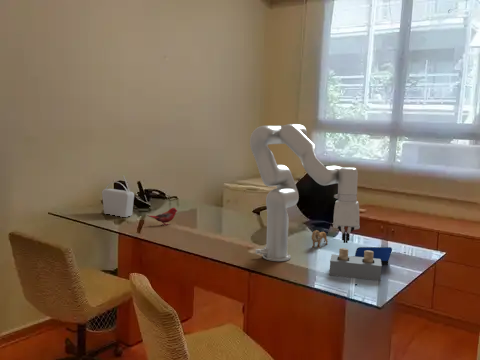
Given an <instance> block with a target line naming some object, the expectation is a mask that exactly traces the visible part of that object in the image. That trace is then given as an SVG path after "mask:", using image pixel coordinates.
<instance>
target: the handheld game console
mask: <svg viewBox="0 0 480 360" xmlns="http://www.w3.org/2000/svg"><path fill="white" fill-rule="evenodd" d="M366 250H369V251H373V252H374V253H373V258H376V259H381V265H382V266H386V265H387V266H388V265H389V261H390V257H391V255H392V251H393V248H392V247H391V246H390V247H389V246H387V247H386V246H382V247H381V246H374V247H373V246H359V247H357V248H356V250H355V254H354V256H355V257H364V251H366Z"/></svg>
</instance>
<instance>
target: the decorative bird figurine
mask: <svg viewBox="0 0 480 360" xmlns="http://www.w3.org/2000/svg"><path fill="white" fill-rule="evenodd" d="M177 212H178V210H177V208H176V207H171V208H169V209H168V210H166V211H165V212H162V213H159V214H157V215H147V216H146V217H149V218H152V219H155V220H156V221H157V222H160V223H162V224H161V226H169V225H171V223H169V222H171V221H172V220H173V219H174V217H175V215H176V213H177Z"/></svg>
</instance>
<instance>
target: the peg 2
mask: <svg viewBox="0 0 480 360" xmlns="http://www.w3.org/2000/svg"><path fill="white" fill-rule="evenodd" d="M373 253H374V252H373V251H369V250H366V251H364V262H365V263H373Z"/></svg>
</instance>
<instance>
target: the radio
mask: <svg viewBox="0 0 480 360" xmlns="http://www.w3.org/2000/svg"><path fill="white" fill-rule="evenodd" d="M122 178H123V179H124V183H125V185H126V186H125V185H124V184H122V183H121V182H119V181H116V183H117V184H120V185H121V186H123V188H124V190H123V189H116V188H108V187H109V186H110V185H111V184H113V183H114V181H112V182H110V183H109V184H108V185H107V186H106V187H105V188H104V189H102V191H101V195H102V196H101V197H102V205H103V214H105V215H106V214H110V215H109V216H112V215H115V216H114V217H117V216H120V217H119V218H122V217H126V218H129V217H128V216H130V217H132V216H133V212H134V211H133V208H134V200H135V192H133V191H130V190H131V189H129V186H128V182H127V180H126V178H125V175H122ZM131 215H132V216H131Z"/></svg>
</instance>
